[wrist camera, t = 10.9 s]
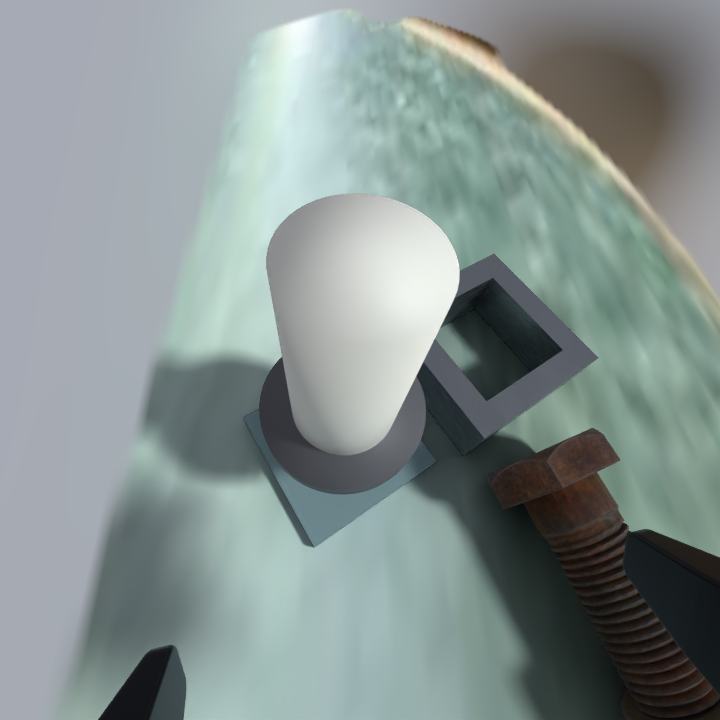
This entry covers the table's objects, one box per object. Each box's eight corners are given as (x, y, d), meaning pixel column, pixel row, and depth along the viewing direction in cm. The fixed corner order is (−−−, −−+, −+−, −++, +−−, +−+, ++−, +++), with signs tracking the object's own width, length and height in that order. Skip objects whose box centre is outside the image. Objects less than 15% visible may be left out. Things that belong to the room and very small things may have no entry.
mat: (434, 463, 20) (436, 461, 20) (314, 547, 18) (314, 547, 17) (358, 358, 22) (359, 354, 22) (244, 420, 20) (242, 417, 20)
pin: (428, 438, 20) (569, 264, 9) (341, 541, 18) (381, 485, 6) (336, 360, 22) (354, 127, 10) (245, 443, 19) (134, 255, 8)
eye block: (566, 382, 23) (598, 357, 20) (463, 455, 20) (484, 438, 18) (475, 286, 26) (494, 253, 23) (375, 340, 23) (382, 310, 20)
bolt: (680, 831, 16) (491, 473, 21) (821, 802, 15) (582, 432, 20) (760, 1015, 11) (482, 477, 16) (987, 992, 9) (604, 422, 15)
